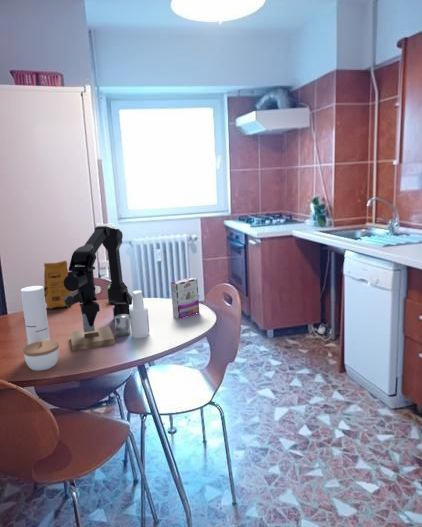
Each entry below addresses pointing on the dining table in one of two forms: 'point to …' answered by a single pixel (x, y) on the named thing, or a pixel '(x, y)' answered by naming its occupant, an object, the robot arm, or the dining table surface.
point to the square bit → (87, 324)
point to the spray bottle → (139, 316)
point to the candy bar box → (185, 297)
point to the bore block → (92, 338)
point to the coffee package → (55, 284)
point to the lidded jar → (41, 354)
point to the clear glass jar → (122, 325)
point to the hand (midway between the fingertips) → (90, 324)
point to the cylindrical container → (35, 314)
